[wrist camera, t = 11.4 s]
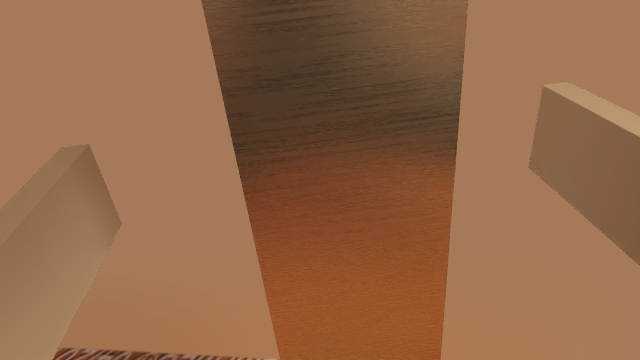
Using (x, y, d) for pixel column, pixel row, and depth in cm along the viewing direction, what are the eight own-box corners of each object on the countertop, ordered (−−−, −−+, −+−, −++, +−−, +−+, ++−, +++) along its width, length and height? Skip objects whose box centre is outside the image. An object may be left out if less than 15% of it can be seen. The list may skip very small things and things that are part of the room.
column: (412, 469, 21) (440, -372, 7) (455, 624, 16) (791, -998, 2) (302, 487, 21) (108, -346, 7) (313, 651, 16) (-253, -988, 2)
